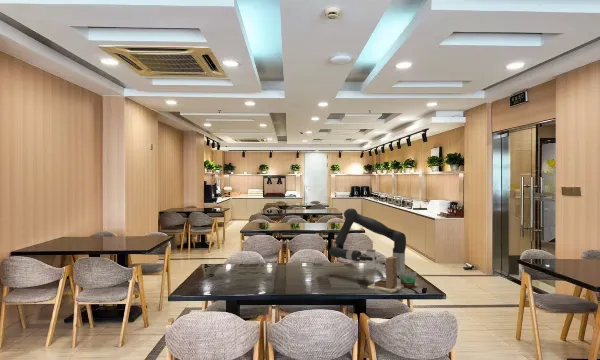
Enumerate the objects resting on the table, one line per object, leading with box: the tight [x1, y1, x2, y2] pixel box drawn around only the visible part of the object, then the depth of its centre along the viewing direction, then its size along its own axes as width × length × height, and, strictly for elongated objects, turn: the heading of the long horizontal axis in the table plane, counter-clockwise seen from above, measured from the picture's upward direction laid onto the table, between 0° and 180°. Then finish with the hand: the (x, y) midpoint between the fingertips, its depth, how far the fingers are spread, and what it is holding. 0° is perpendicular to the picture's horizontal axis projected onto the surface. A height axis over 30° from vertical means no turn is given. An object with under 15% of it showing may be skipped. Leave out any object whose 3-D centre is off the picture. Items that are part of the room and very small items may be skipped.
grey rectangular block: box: [365, 248, 376, 270], centre depth 268 cm, size 5×5×13 cm
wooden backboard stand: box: [366, 256, 405, 294], centre depth 257 cm, size 18×18×21 cm
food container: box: [399, 271, 417, 289], centre depth 260 cm, size 12×6×10 cm, turn 101°
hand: (374, 258), depth 266 cm, fingers closed on grey rectangular block, 4 cm apart
